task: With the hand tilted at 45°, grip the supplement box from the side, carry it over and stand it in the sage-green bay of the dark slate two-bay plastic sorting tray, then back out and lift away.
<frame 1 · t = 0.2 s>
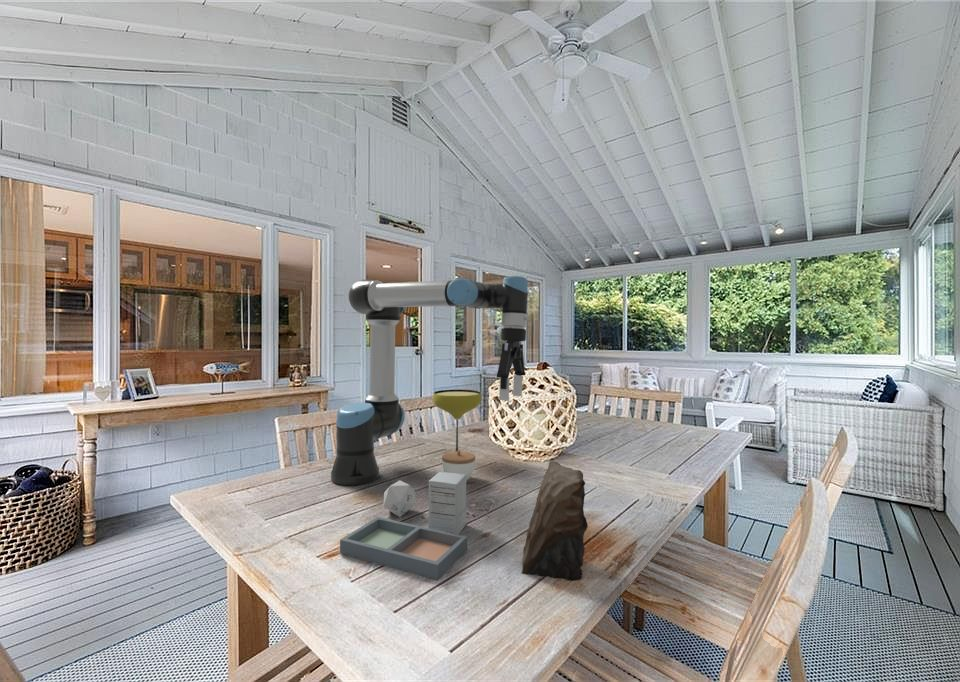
hand: (510, 398, 135), 28 cm above the table, tool pointing down, fingers open, 13 cm apart
lidded jar: (458, 480, 144), on the table
cocktail glass: (456, 459, 166), on the table
sorting tray: (404, 551, 96), on the table
supplement box: (447, 529, 108), on the table
die: (399, 513, 117), on the table
brown rock: (549, 566, 91), on the table
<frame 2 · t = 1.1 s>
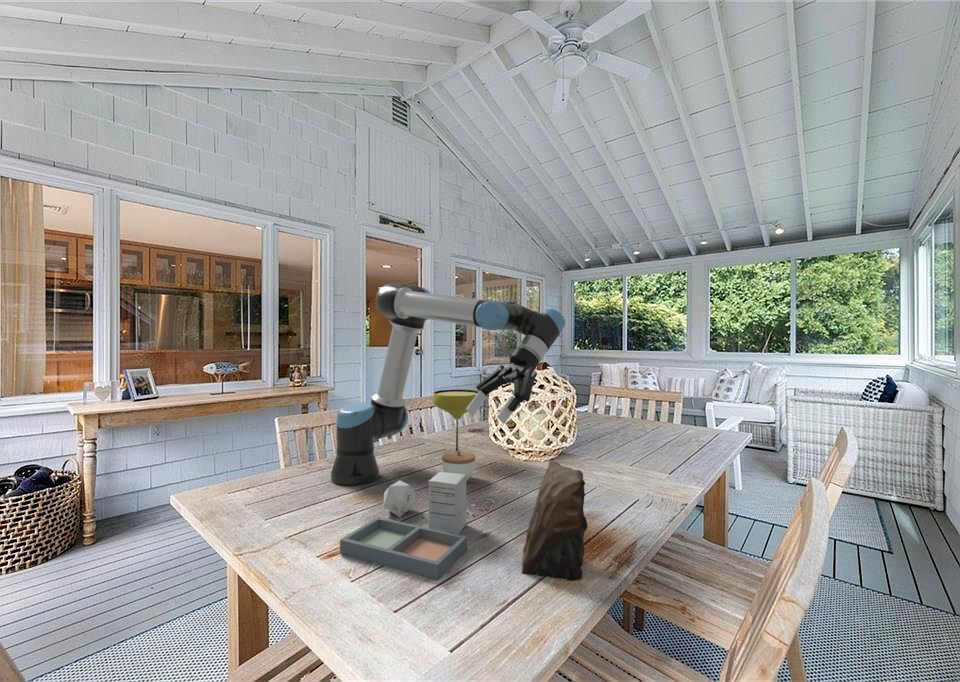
hand: (484, 416, 114), 26 cm above the table, tool tilted 45°, fingers open, 13 cm apart
nothing on the table moved.
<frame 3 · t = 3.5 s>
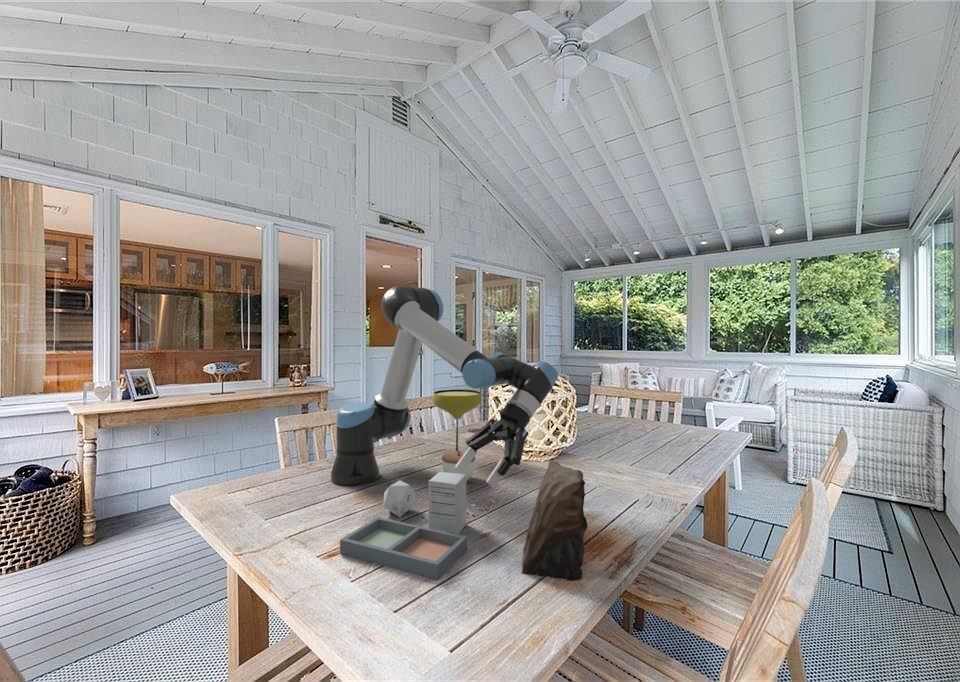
hand: (473, 477, 111), 11 cm above the table, tool tilted 45°, fingers open, 13 cm apart
nothing on the table moved.
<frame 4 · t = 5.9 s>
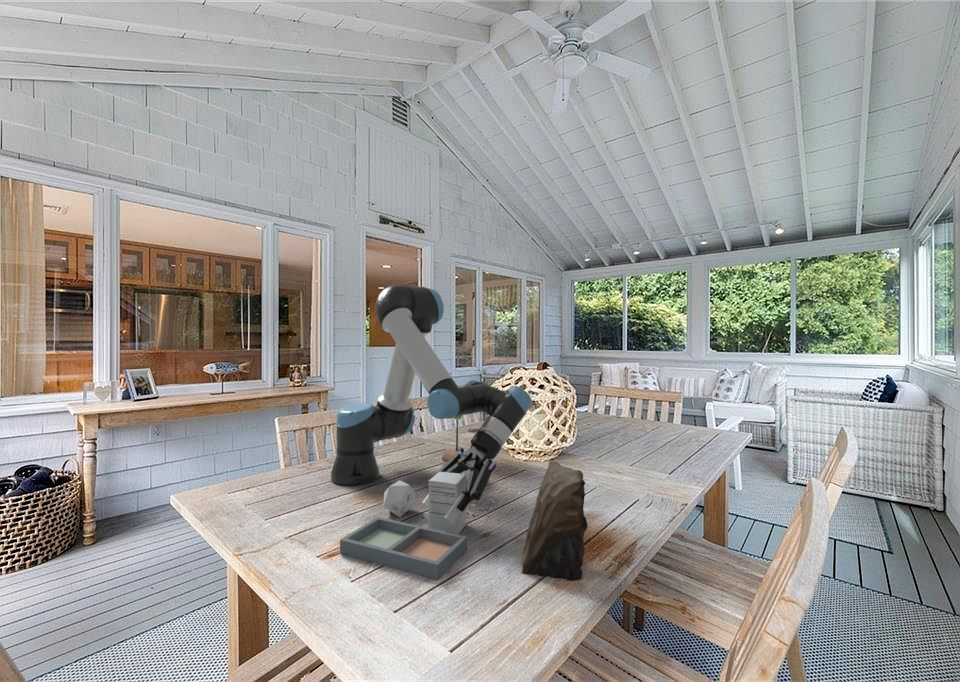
hand: (436, 513, 106), 4 cm above the table, tool tilted 45°, fingers closed on supplement box, 10 cm apart
supplement box: (447, 529, 108), on the table, touching gripper
everything else where it was.
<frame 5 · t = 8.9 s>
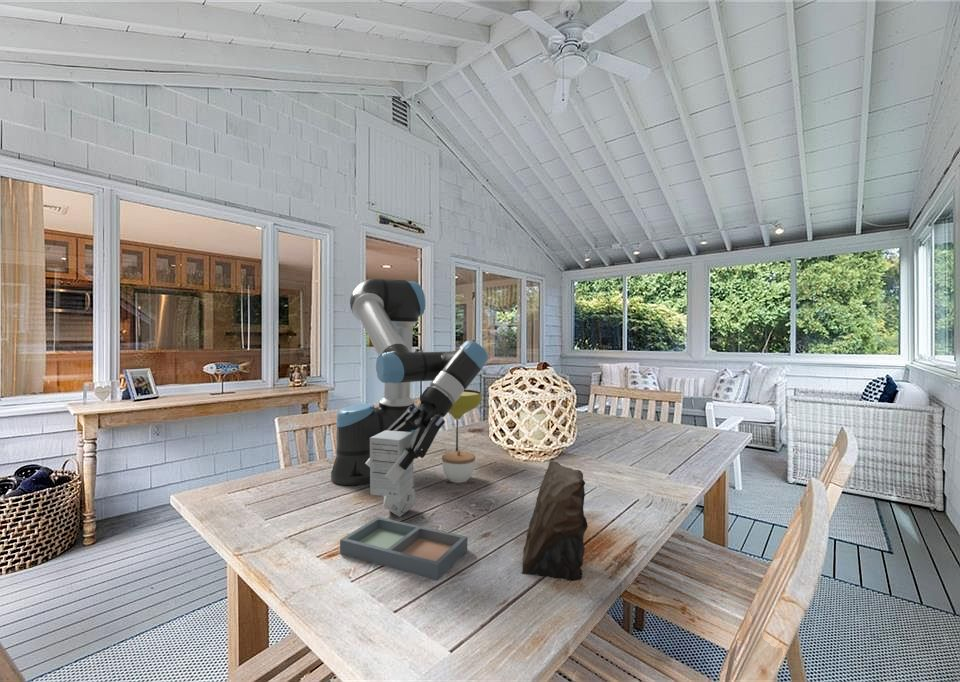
hand: (379, 473, 97), 17 cm above the table, tool tilted 45°, fingers closed on supplement box, 10 cm apart
supplement box: (392, 491, 99), point 12 cm above the table, touching gripper
everything else where it was.
when the fingers open (7 cm above the table, at t = 11.8 s): supplement box drops 2 cm, resting on sorting tray.
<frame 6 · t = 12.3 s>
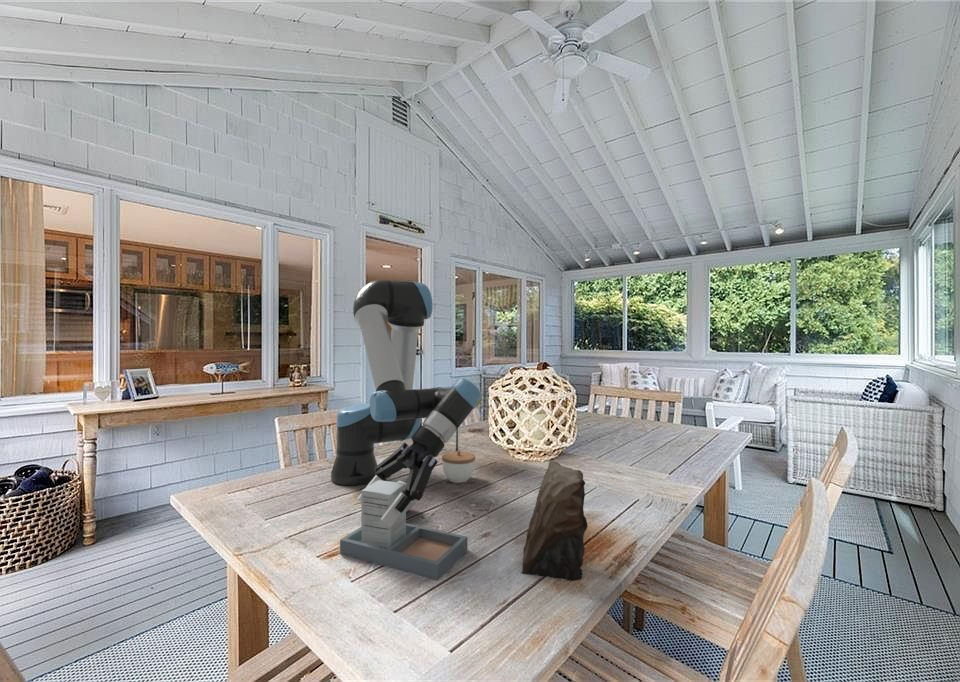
hand: (372, 512, 97), 8 cm above the table, tool tilted 45°, fingers open, 13 cm apart
supplement box: (384, 543, 99), point 1 cm above the table, touching sorting tray
everything else where it was.
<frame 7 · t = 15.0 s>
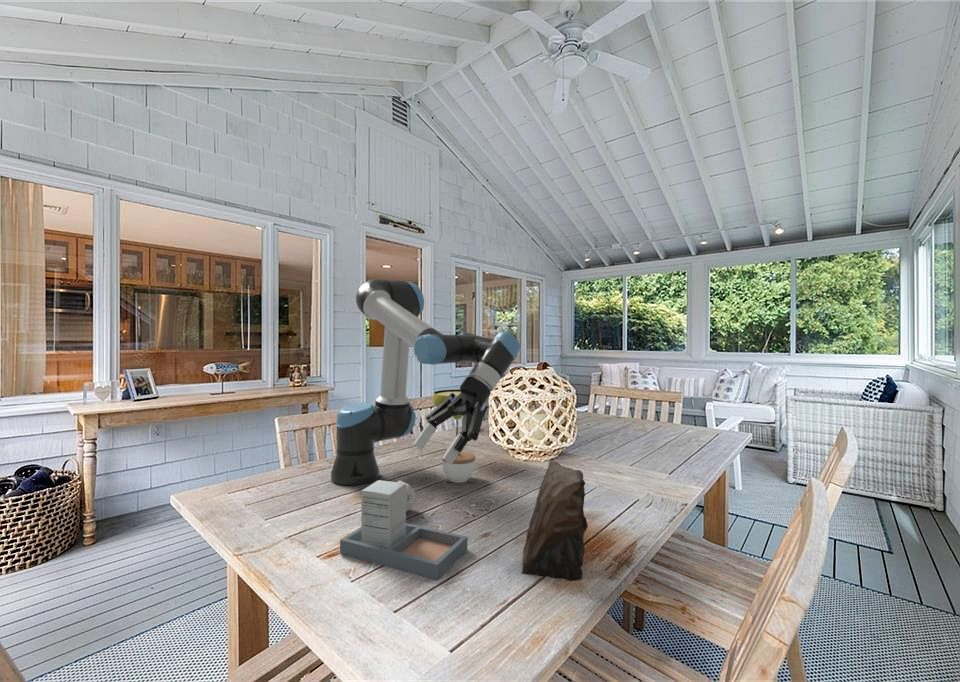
hand: (431, 454, 107), 18 cm above the table, tool tilted 40°, fingers open, 13 cm apart
nothing on the table moved.
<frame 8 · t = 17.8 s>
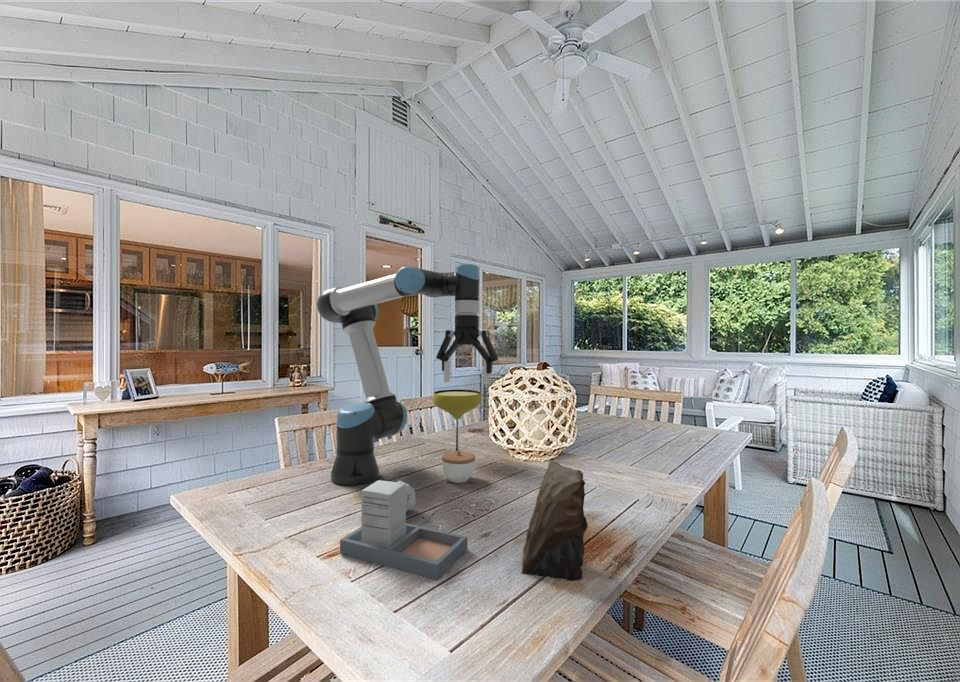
hand: (466, 383, 139), 32 cm above the table, tool pointing down, fingers open, 13 cm apart
nothing on the table moved.
at the end: supplement box inside the target area on the sorting tray (0.4 cm from its centre), point 0.6 cm above the sorting tray's base; supplement box tilted 0°; the gripper is holding nothing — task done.
